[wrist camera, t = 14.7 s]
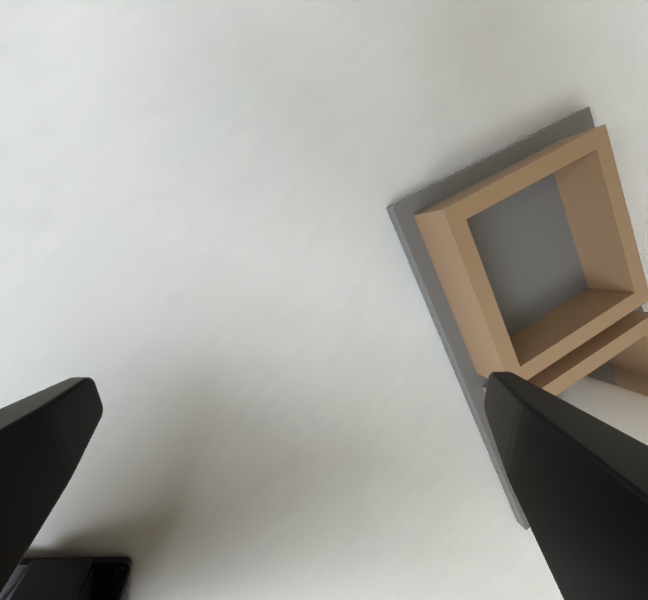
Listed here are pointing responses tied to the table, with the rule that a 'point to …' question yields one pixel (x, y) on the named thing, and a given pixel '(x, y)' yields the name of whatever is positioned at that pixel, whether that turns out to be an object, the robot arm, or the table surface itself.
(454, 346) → the well tray
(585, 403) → the eye dropper bottle
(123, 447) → the table surface
